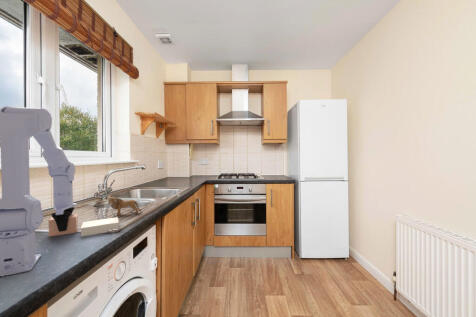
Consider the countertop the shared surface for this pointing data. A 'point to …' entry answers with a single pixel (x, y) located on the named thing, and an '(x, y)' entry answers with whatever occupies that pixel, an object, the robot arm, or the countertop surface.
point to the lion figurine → (122, 204)
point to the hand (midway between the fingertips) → (64, 228)
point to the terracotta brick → (71, 226)
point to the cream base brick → (99, 226)
